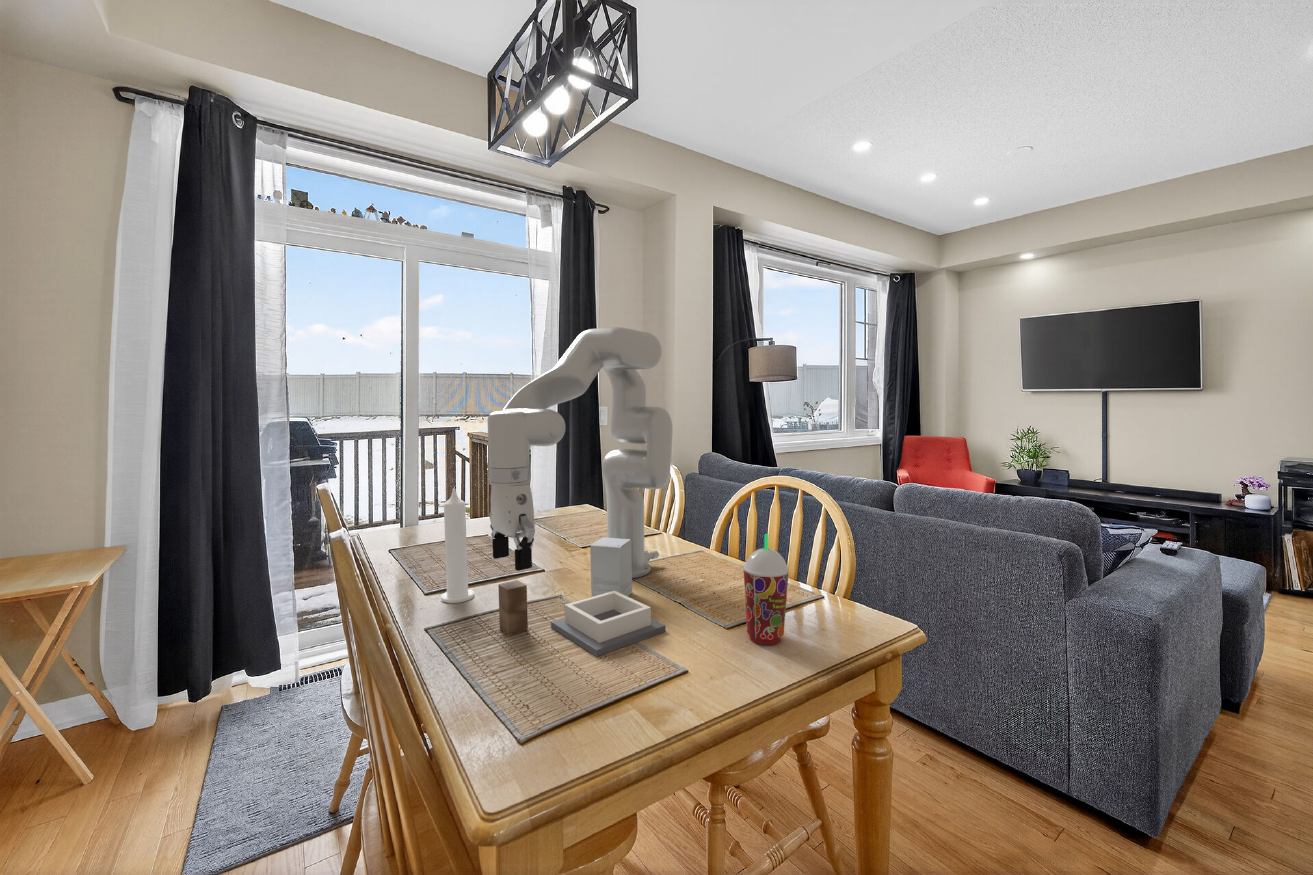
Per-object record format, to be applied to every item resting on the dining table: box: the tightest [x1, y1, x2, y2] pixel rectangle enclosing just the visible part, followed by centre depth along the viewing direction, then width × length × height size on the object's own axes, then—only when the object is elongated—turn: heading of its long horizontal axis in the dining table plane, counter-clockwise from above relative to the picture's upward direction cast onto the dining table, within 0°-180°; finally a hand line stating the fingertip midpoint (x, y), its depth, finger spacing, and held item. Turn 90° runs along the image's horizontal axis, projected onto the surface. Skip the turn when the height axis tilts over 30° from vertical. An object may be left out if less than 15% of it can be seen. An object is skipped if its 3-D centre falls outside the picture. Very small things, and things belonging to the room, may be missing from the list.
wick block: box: [497, 579, 529, 636], centre depth 110 cm, size 4×4×9 cm
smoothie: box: [742, 533, 790, 646], centre depth 105 cm, size 8×8×20 cm
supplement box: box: [589, 536, 633, 597], centre depth 127 cm, size 7×7×13 cm
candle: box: [440, 488, 475, 604], centre depth 126 cm, size 7×7×25 cm
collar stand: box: [550, 591, 666, 657], centre depth 110 cm, size 16×16×5 cm
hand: (511, 562), depth 109 cm, fingers open, 9 cm apart
